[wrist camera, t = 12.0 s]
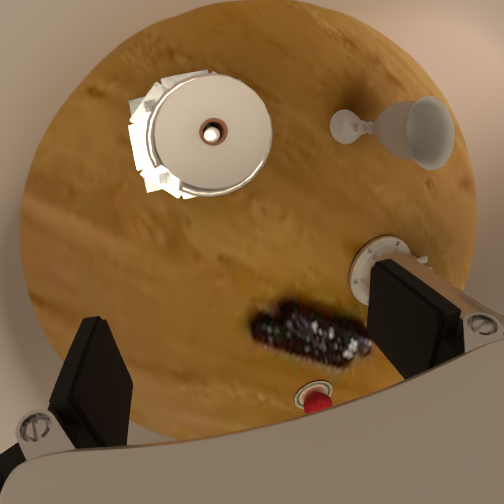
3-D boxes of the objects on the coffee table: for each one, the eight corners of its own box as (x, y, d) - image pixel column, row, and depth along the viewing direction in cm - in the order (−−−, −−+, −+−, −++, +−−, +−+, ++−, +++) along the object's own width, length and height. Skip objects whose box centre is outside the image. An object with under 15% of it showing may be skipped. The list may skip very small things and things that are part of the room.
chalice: (327, 97, 39) (410, 86, 23) (368, 107, 41) (457, 107, 24) (320, 147, 42) (401, 163, 25) (362, 155, 43) (449, 176, 27)
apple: (337, 389, 61) (350, 411, 55) (307, 411, 61) (317, 433, 55) (318, 373, 57) (331, 396, 51) (286, 397, 58) (296, 421, 52)
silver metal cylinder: (161, 117, 35) (127, 91, 12) (212, 102, 36) (261, 56, 13) (175, 166, 38) (165, 219, 15) (226, 151, 38) (292, 181, 16)
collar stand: (238, 76, 36) (251, 63, 29) (254, 172, 41) (270, 181, 34) (129, 97, 34) (116, 89, 27) (148, 194, 39) (141, 209, 32)
